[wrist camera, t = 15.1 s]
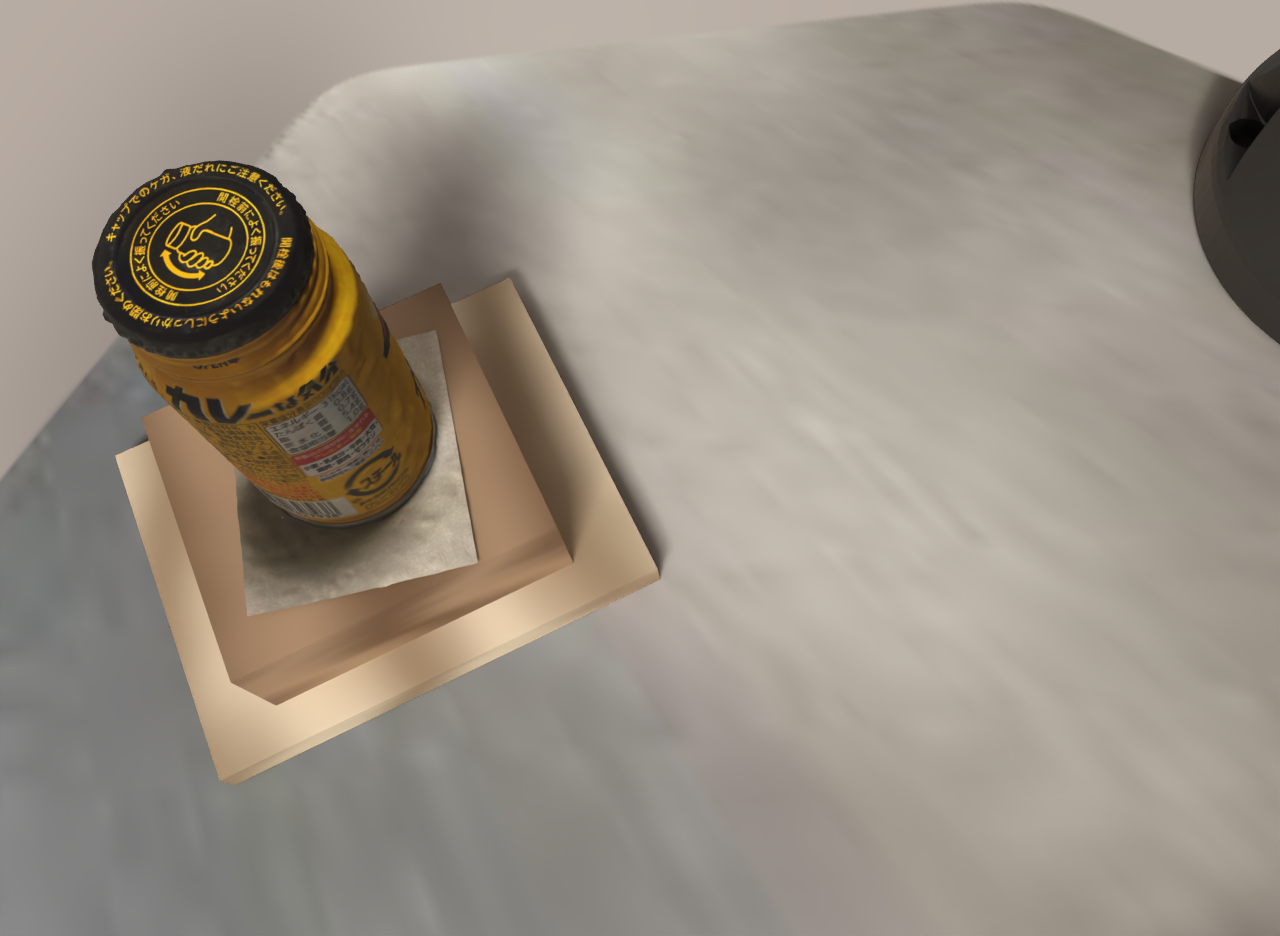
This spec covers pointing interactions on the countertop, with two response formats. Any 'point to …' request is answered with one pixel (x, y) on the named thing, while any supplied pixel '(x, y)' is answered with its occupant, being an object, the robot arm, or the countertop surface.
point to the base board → (448, 649)
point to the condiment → (288, 384)
